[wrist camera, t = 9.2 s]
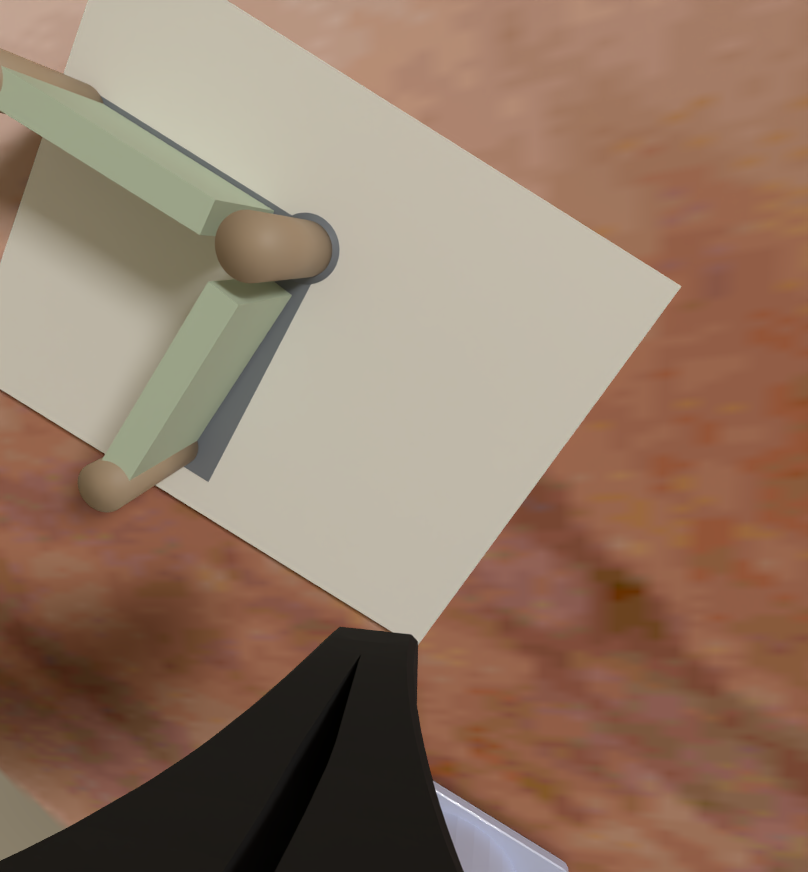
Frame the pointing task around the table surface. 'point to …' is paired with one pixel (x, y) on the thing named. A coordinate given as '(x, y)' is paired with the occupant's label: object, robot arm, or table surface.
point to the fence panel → (184, 391)
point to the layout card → (321, 309)
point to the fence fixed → (162, 175)
